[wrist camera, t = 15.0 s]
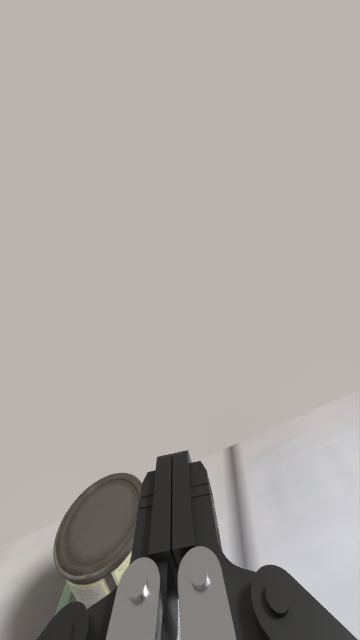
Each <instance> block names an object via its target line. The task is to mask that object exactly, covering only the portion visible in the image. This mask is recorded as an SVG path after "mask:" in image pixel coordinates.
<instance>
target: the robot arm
mask: <svg viewBox="0 0 360 640" xmlns="http://www.w3.org/2000/svg"><path fill="white" fill-rule="evenodd" d="M178 599H179V610H180V626H181V640H357V639H356V638H355V637H354V636H353V635H352V634H351V633H350V632H349V631H348V630H347V629H346V628H345V627H344V626H343V625H342V624H341V623H340V622H339V621H338V620H337V619H336V618H335V617H334V616H332V615H331V614H330V613H329V612H328V611H327V610H326V609H325V608H324V607H323V606H322V605H321V604H320V603H319V602H318V601H317V600H316V599H315V598H314V597H313V596H312V595H311V594H310V593H309V592H308V591H306V590H305V589H304V588H303V587H302V586H301V585H300V584H299V583H298V582H297V581H296V580H295V579H294V578H293V577H292V576H291V575H290V574H289V573H288V572H286V571H285V570H284V569H282V568H280V567H278V566H275V565H265V566H263V567H261V568H260V569H259V570H258V571H257V572H253V571H250V570H246V569H243V568H240V567H237V566H235V565H234V564H232V563H231V562H230V561H229V560H228V559H227V558H226V557H225V555H224V554H223V552H222V547H221V541H220V535H219V530H218V524H217V518H216V512H215V506H214V500H213V495H212V491H211V487H210V483H209V479H208V474H207V470H206V469H205V467H204V466H203V464H202V463H201V461H198V462H193V463H191V460H190V455H189V452H188V451H182V452H178V453H173V454H168V455H164V456H159V457H157V463H156V471H151V472H148V473H147V475H146V477H145V479H144V481H143V483H142V487H141V493H140V500H139V507H138V513H137V520H136V527H135V533H134V540H133V547H132V553H131V559H130V563H129V566H128V567H127V569H126V570H125V571H124V573H123V575H122V577H121V579H120V581H119V584H118V586H117V587H116V588H115V589H114V590H113V591H112V592H111V593H109V594H108V595H107V596H105V597H104V598H102V599H101V600H99V601H98V602H96V603H95V604H93V605H92V606H91V607H89V608H88V609H87V608H86V606H85V605H84V604H83V603H81V602H78V601H75V602H71V603H69V604H67V605H65V606H64V607H63V608H62V609H61V610H60V611H59V612H58V613H57V614H56V615H55V616H54V617H53V619H52V620H51V621H50V623H49V624H48V625H47V627H46V628H45V629H44V631H43V632H42V633H41V635H40V636H39V637H38V639H37V640H180V632H179V626H178Z"/></svg>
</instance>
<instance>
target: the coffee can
mask: <svg viewBox="0 0 360 640" xmlns="http://www.w3.org/2000/svg"><path fill="white" fill-rule="evenodd" d="M141 487H142V483H141V482H140V480H139V479H138V478H137V477H135V476H134V475H131V474H128V473H117V474H112V475H109V476H106V477H104V478H102V479H100V480H98V481H97V482H95V483H94V484H92V485H91V486H90V487H88V488H87V489H86V490H85V491H84V492H83V493H82V494H81V495H80V496H79V497H78V498H77V499H76V500H75V501H74V503H73V504H72V505H71V507H70V508H69V510H68V512H67V513H66V514H65V516H64V518H63V520H62V522H61V524H60V526H59V529H58V531H57V534H56V538H55V543H54V561H55V564H56V567H57V569H58V571H59V572H60V574H61V575H62V576H63V577H64V578H65V580H66V582H67V583H68V585H69V587H70V589H71V591H72V593H73V594H74V596H75V598H76V600H77V601H78V602H81V603H83V604H84V605H85V606H86V608H87V609H88V608H89V607H91V606H92V605H93V604H95V603H96V602H98V601H99V600H101V599H102V598H104V597H105V596H107V595H108V594H109V593H111V592H112V591H113V590H114V589H115V588H116V587H117V586H118V584H119V581H120V579H121V577H122V575H123V573H124V571H125V570H126V569H127V567H128V566H129V563H130V559H131V553H132V547H133V540H134V533H135V527H136V520H137V513H138V507H139V500H140V493H141Z"/></svg>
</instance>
